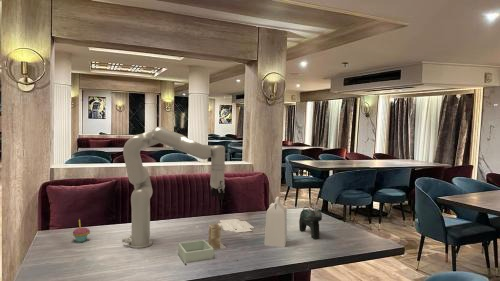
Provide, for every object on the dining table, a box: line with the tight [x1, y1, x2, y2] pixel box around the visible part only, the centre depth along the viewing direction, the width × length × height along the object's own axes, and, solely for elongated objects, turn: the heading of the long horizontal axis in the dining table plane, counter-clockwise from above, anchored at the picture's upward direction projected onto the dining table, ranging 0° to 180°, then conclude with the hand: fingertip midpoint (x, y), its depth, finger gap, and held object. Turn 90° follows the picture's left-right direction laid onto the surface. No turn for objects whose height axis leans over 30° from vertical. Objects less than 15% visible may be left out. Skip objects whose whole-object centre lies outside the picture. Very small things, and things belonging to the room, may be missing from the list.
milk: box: [263, 196, 288, 248], centre depth 192 cm, size 12×12×26 cm
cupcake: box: [72, 219, 91, 243], centre depth 186 cm, size 9×8×12 cm
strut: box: [207, 223, 222, 248], centre depth 180 cm, size 5×5×11 cm
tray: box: [216, 218, 255, 233], centre depth 221 cm, size 20×28×4 cm
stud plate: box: [213, 242, 227, 250], centre depth 180 cm, size 10×10×6 cm
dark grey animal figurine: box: [298, 203, 323, 240], centre depth 207 cm, size 20×6×20 cm, turn 22°
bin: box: [177, 239, 214, 266], centre depth 167 cm, size 14×14×6 cm
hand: (217, 197), depth 188 cm, fingers open, 9 cm apart
